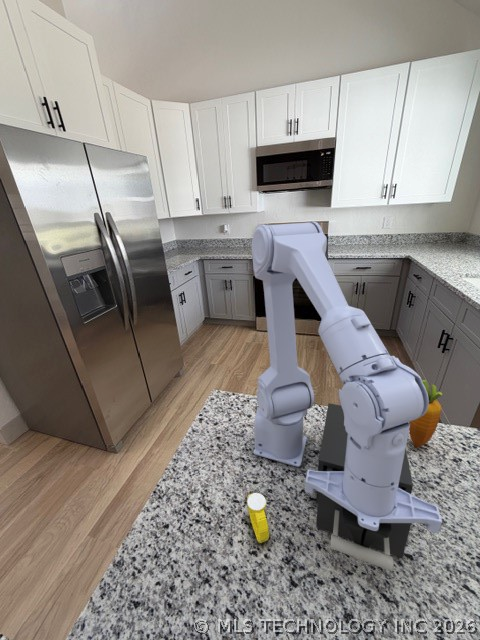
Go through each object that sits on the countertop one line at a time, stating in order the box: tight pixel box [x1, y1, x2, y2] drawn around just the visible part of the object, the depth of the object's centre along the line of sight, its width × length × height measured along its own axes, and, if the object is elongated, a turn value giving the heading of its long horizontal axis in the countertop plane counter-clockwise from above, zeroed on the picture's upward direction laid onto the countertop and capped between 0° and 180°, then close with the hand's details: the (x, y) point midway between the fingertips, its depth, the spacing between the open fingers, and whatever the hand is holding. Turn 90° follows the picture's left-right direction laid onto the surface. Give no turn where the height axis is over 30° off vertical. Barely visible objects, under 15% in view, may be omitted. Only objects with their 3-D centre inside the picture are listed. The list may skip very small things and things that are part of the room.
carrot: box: [408, 379, 443, 449], centre depth 53 cm, size 5×5×15 cm
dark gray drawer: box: [315, 466, 412, 573], centre depth 41 cm, size 18×11×8 cm, turn 158°
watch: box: [246, 492, 270, 544], centre depth 41 cm, size 6×3×6 cm, turn 16°
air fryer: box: [315, 402, 414, 505], centre depth 48 cm, size 15×13×10 cm
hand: (360, 543), depth 36 cm, fingers closed, pressing on dark gray drawer
